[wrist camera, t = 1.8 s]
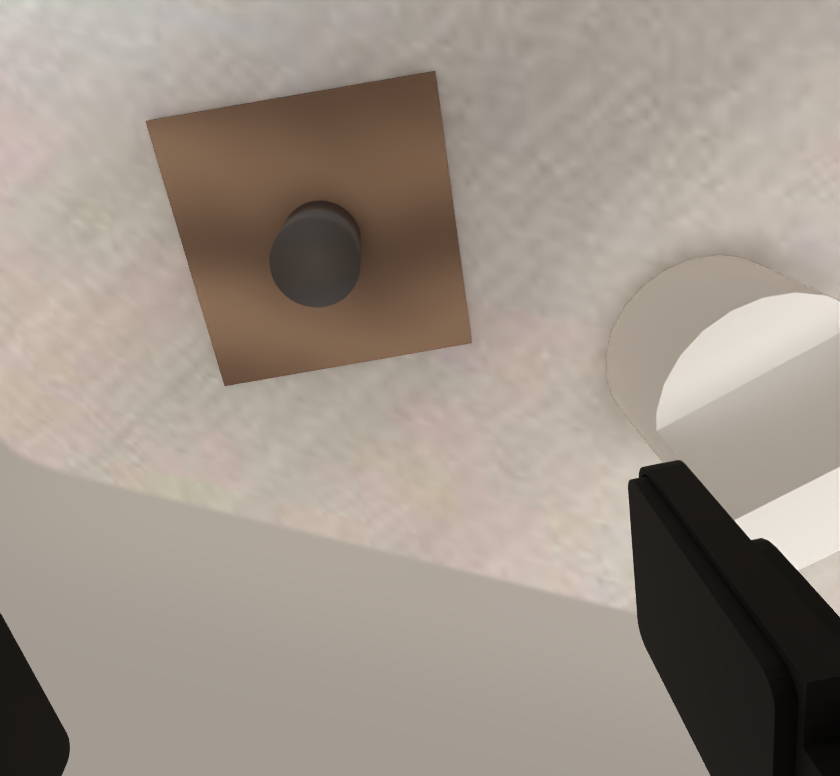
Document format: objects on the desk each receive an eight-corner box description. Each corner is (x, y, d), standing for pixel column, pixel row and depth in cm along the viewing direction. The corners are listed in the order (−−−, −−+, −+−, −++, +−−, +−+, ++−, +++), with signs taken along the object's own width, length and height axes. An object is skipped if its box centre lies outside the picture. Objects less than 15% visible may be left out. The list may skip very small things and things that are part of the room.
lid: (153, 119, 27) (109, 127, 22) (432, 71, 27) (446, 69, 22) (228, 377, 31) (205, 427, 27) (468, 335, 32) (486, 378, 27)
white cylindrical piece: (760, 215, 30) (993, 291, 19) (822, 379, 33) (1050, 525, 22) (573, 322, 31) (687, 452, 20) (650, 469, 34) (785, 650, 23)
